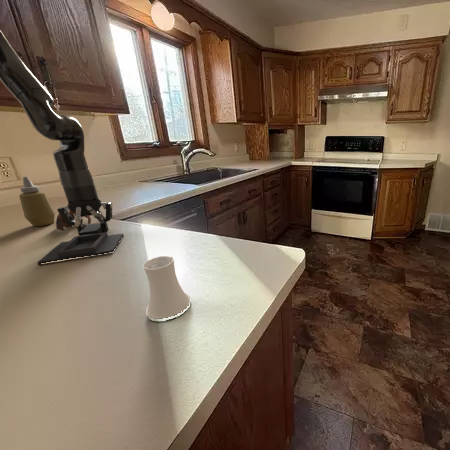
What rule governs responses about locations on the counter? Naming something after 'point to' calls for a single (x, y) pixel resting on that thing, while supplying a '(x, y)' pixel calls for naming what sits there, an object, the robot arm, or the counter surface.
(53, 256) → the base pad
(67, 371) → the counter surface
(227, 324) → the counter surface
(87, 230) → the dark grey block
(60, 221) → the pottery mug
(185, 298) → the vase
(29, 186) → the squeeze bottle
